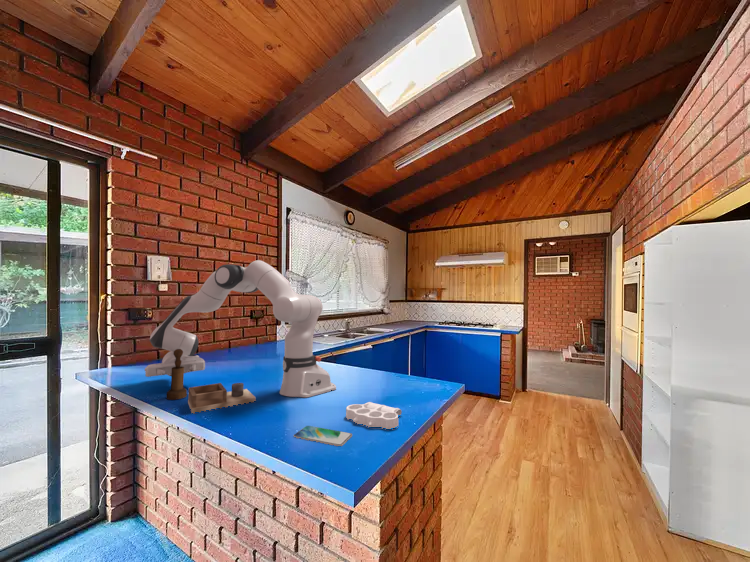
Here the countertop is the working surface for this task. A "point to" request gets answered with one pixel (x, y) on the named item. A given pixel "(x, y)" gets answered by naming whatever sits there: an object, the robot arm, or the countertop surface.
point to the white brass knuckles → (373, 415)
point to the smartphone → (323, 435)
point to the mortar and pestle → (177, 379)
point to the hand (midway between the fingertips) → (177, 371)
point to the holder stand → (217, 397)
